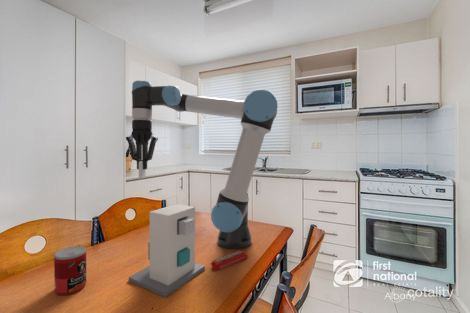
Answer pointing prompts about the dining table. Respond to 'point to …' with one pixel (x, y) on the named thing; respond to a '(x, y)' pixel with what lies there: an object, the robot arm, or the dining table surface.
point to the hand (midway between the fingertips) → (142, 177)
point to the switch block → (168, 252)
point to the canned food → (70, 270)
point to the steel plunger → (185, 226)
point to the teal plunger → (178, 256)
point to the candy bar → (228, 260)
